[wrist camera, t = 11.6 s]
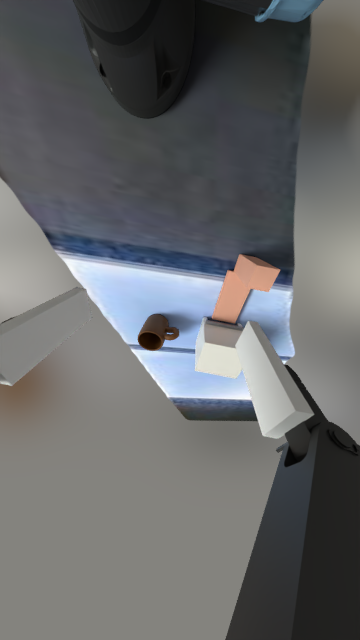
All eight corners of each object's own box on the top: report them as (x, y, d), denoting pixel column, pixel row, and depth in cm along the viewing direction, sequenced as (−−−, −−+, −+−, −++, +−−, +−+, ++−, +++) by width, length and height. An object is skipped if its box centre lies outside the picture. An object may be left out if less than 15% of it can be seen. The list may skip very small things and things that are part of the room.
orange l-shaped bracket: (233, 252, 34) (248, 263, 24) (262, 258, 34) (289, 271, 24) (211, 317, 44) (215, 343, 34) (234, 321, 44) (244, 349, 34)
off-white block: (204, 314, 44) (205, 339, 34) (242, 321, 44) (254, 349, 34) (195, 342, 51) (194, 370, 41) (228, 348, 51) (236, 378, 41)
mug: (179, 309, 44) (175, 327, 36) (184, 329, 48) (181, 349, 40) (143, 314, 47) (132, 332, 39) (151, 332, 51) (142, 352, 43)
